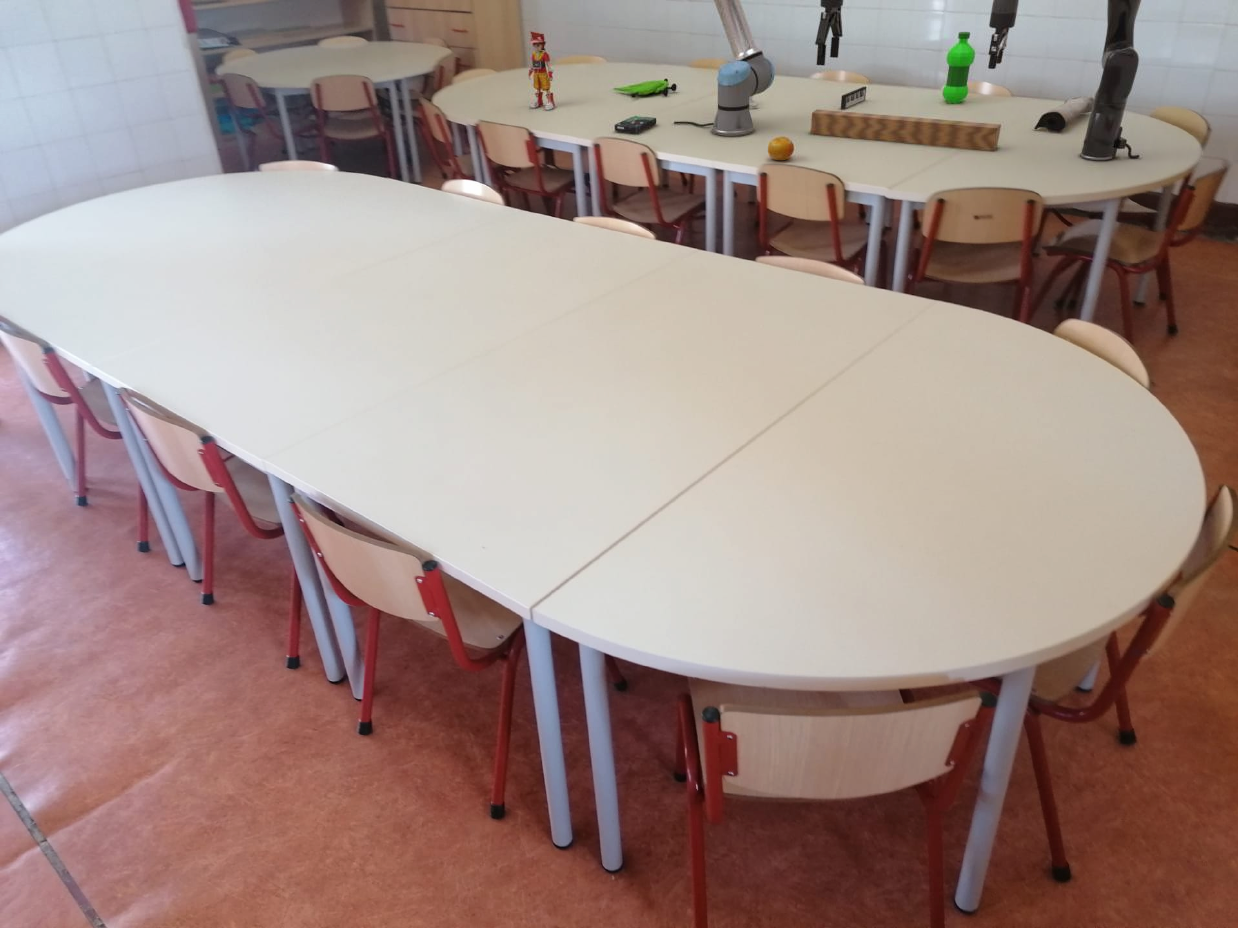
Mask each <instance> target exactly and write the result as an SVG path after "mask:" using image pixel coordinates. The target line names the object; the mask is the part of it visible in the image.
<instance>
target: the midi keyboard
mask: <svg viewBox="0 0 1238 928" xmlns="http://www.w3.org/2000/svg"><path fill="white" fill-rule="evenodd" d="M866 94H867V86H861V87H860V88H857V89H855V90H852V91H849V92H847V93H844V94H842V95H841V100H840V110H845V109H847V108H849V107H851V106H853V105H856V104H857V103H860V102H862V101H865V100H866V96H867V95H866Z"/></svg>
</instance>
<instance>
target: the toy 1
mask: <svg viewBox="0 0 1238 928" xmlns="http://www.w3.org/2000/svg"><path fill="white" fill-rule="evenodd" d="M529 33H530V35H531V36H528V37H527V38H528V39H529V40H528V41H527V43H529V44H530V43H531V44H532V48H533V50H534V51H533V52H532V55H531V58H530V59H531V63H530V66H528V74H527V75H528V76H527V77H528V79H529V80H531V75H532V74H533V84H532V85H533V86H532V87H533V88H534V89H535V90H536V92H534V95H535V97H536V100H535V101H533V102H531V105H530V108H531V109H535V108H538V107H542V106H544V101H543V100H544V99H543V95H544V92H546V94H545V97H546V99H547V103H546V104H545V106H544V110H546V111H549V110H553V109H554V107H555V106H556V105H555V99H554V92H551V91H550V90H551V86H552V84H551V82H552V81H553V80H554V77H553V73H554V71H555V70H554V69H552V68H551V63H550V61H551V59H550V58H551V57H550V54H549V53H548V52H547V50H546V48H545V46H546V44H547V41H545V35H544V33H543V32H542V33H539V32H535V31H529Z"/></svg>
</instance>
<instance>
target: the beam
mask: <svg viewBox="0 0 1238 928" xmlns="http://www.w3.org/2000/svg"><path fill="white" fill-rule="evenodd" d="M1001 127H1002V124H1001V123H988V122H977V121H966V120H965V121H964V120H953V119H952V120H951V119H940V118H939V119H938V118H926V117H915V116H914V117H913V116H903V115H891V114H889V115H888V114H879V113H867V112H866V113H865V112H856V111H855V112H854V111H843V110H842V111H840V110H828V109H815V110H814V111H812V112H811V122H810V135H818V136H819V135H820V136H830V137H839V138H840V137H841V138H850V139H852V138H853V139H863V140H872V141H882V142H894V143H903V144H915V145H925V146H934V147H935V146H937V147H944V148H945V147H947V148H957V149H967V150H978V151H986V152H987V151H989V152H990V151H991V152H995V150H996V149H997V148H998V144H999V139H1000V134H1001V129H1002V128H1001Z"/></svg>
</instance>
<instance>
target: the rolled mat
mask: <svg viewBox="0 0 1238 928" xmlns="http://www.w3.org/2000/svg"><path fill="white" fill-rule="evenodd" d="M1093 102H1094V97H1093V96H1077V97H1071V98H1068V99H1066V100H1065V101H1064V102H1063V103H1062V104H1059V105H1058V106H1056V107H1054V108H1052V109H1049V111H1047V112H1045V113H1043V114H1042V115H1041V116H1040V117H1039V119H1038V121H1037V122H1036V125H1035V127H1034V130H1036V131H1037V130H1038V129H1043V128H1044V129H1046V130H1047V131H1048V132H1054V133H1061V132H1063V131H1064V130H1065V129H1066V128H1067V127H1068V126H1069V125H1071V123H1072V122H1073V121H1075V119H1077V118H1078V117H1080V115H1082V114H1087V113H1088V114H1089V113H1091V111H1092V106H1093Z"/></svg>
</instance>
